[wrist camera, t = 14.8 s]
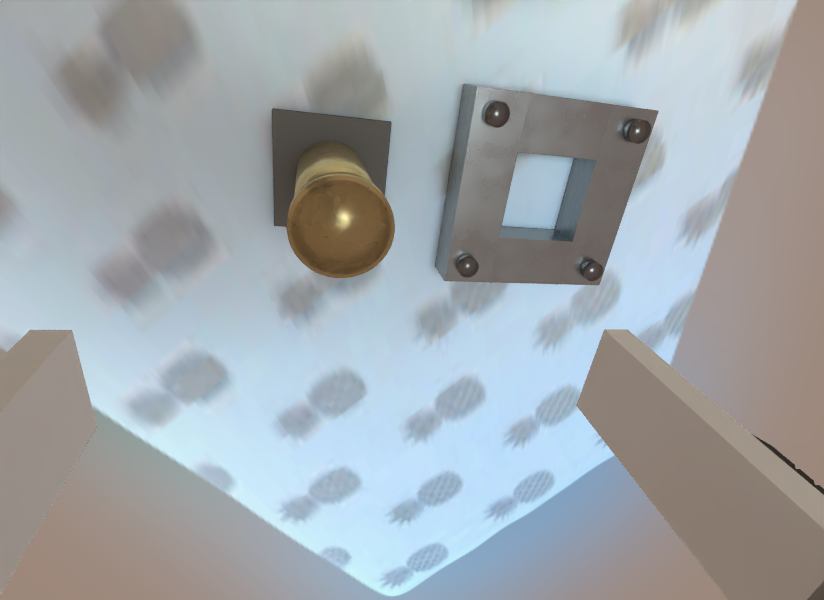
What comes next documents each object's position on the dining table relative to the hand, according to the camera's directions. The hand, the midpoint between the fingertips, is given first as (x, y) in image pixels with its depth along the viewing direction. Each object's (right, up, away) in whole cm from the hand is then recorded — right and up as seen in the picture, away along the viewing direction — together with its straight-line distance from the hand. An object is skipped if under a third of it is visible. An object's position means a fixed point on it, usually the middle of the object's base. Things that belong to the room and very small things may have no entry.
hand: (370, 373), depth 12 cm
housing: (+11, +11, +25) cm, 29 cm away
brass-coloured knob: (-5, +11, +21) cm, 24 cm away
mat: (-5, +11, +21) cm, 24 cm away
